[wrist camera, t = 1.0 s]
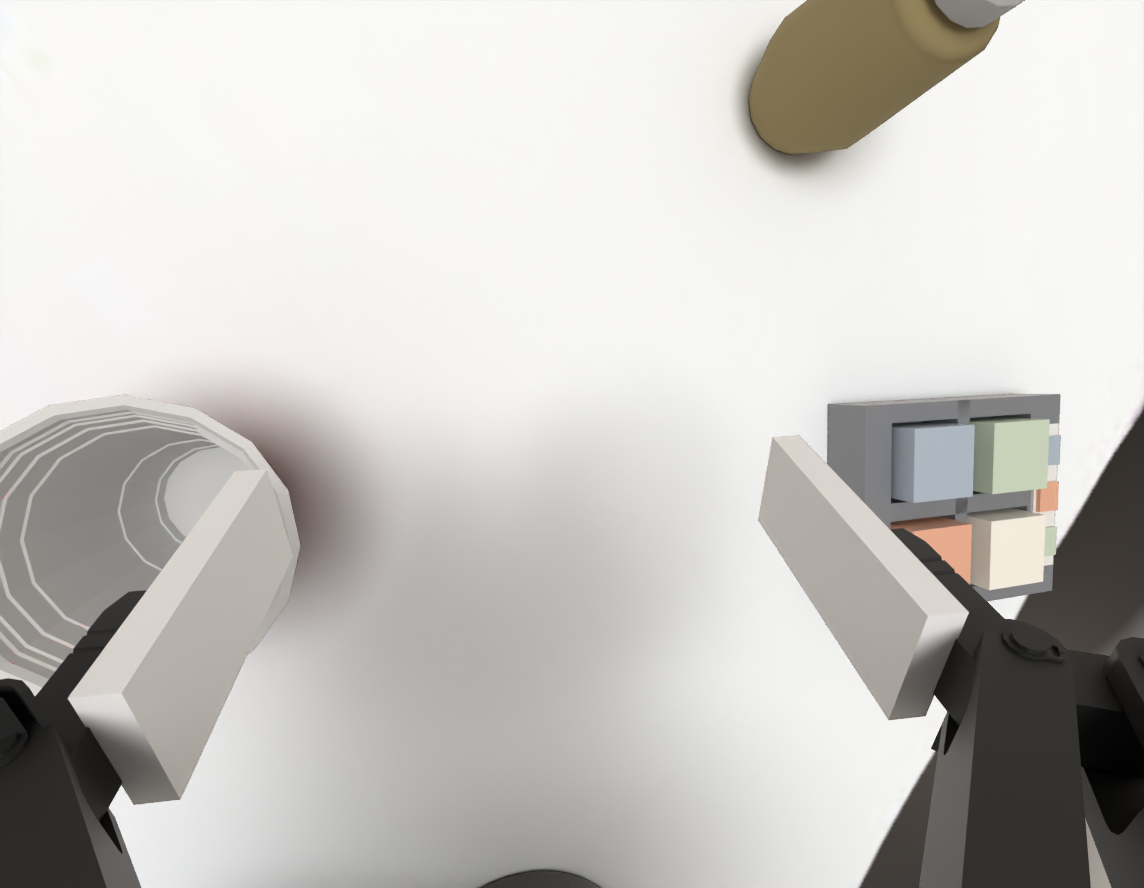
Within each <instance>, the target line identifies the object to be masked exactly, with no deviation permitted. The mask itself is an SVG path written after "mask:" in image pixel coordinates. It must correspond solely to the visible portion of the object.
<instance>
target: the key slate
mask: <svg viewBox="0 0 1144 888" xmlns="http://www.w3.org/2000/svg"><path fill="white" fill-rule="evenodd" d="M974 433H975V425H971V424H956V423H940V422H930V423H916V424H901V425H892V453H891V498H894V499H898V500H902V501H907V502H911V503H918V502H927V501H937V500H946V499H955V498H964V497H973V468H974Z"/></svg>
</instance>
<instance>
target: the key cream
mask: <svg viewBox="0 0 1144 888" xmlns="http://www.w3.org/2000/svg"><path fill="white" fill-rule="evenodd" d="M967 523H969V524H972V539H971V574H970V584H973V585H976V586H978V587H981V588H984V589H987V590H994V589H1001V588H1007V587H1013V586H1019V585H1025V584H1031V583H1038V582H1043V572H1044V547H1045V523H1046V515H1044V514H1039V513H1034V512H1029V511H1024V510H1019V509H1014V508H1004V509H996V510H988V511H979V512H971V513H967Z"/></svg>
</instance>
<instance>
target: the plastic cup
mask: <svg viewBox="0 0 1144 888" xmlns="http://www.w3.org/2000/svg"><path fill="white" fill-rule="evenodd" d="M263 469H267V471H268V474H269V478H270V481H271V484H272V488H273V491H274V494H275V498H276V501H277V504H278V508H279V511H280V514H281V518H282V521H283V524H284V528H285V531H286V535H287V538H288V541H289V545H290V548H291V551H292V555H293V557H292V559H291V561H290V563H289V566H288V568H287V570H286V572H285V574H284V576H283V578H282V581H281V583H280V585H279V587H278V589H277V591H276V594H275V596H274V598H273V600H272V602H271V604H270V607H269V609H268V611H267V613H266V615H265V617H264V620H263V622H262V624H261V626H260V628H259V630H258V633H257V635H256V637H255V639H254V641H253V643H252V646H251V648H250V650H249V652H248V654H250V653H251V652H252V651H254V649H255V648H256V646H257V645H258V644H259V642H260V641H261V639H262V638H263V636H264V635H265V634H266V632H267V631H268V629H269V628H270V627H271V625H272V624H273V622H274V621H275V619H276V618H277V617H278V615H279V614H280V612H281V611H282V610H283V608H284V607H285V605H286V604H287V602H288V601H289V596H290V592H291V587H292V582H293V578H294V573H295V569H296V564H297V559H298V555H299V550H300V546H301V545H300V541H299V536H298V532H297V527H296V523H295V518H294V514H293V509H292V505H291V500H290V496H289V491H288V489H287V488H286V487H285V485H284V484H283V483H282V481H281V480H280V479H279V477H278V475H277V474H276V473H275V471H274V470H273V469H272V467H271V466H270V465H269V463H268V462H267V461H266V459H265V458H264V457H263V456H262V455H261V453H260V452H259V451H258V449H257V448H256V447H255V445H254V444H253V443H252V442H251V441H249V440H248V439H246V438H244V437H243V436H241V435H239V434H238V433H236V432H234V431H233V430H231V429H229V428H228V427H226V426H224V425H223V424H221V423H219V422H218V421H216V420H214V419H213V418H211V417H209V416H207V415H206V414H204V413H202V412H201V411H199V410H197V409H196V408H191V407H186V406H181V405H176V404H171V403H165V402H160V401H155V400H150V399H145V398H140V397H134V396H129V395H118V396H111V397H104V398H97V399H90V400H83V401H75V402H68V403H61V404H54V405H48V406H47V407H45V408H43V409H41V410H39V411H37V412H35V413H33V414H31V415H30V416H28V417H26V418H24V419H22V420H20V421H18V422H16V423H14V424H12V425H11V426H9V427H7V428H5V429H3V430H1V431H0V679H6V678H10V679H17V680H22V681H23V682H24V683H25V684H26V685H27V686H28V687H29V688H30V690H31V691H32V693H33V694H34V696H36V695H37V694H38V692H39V691H40V690H41V689H42V687H43V686H44V685H45V684H46V682H47V681H48V680H49V679H50V677H51V676H52V675H53V674H54V672H55V671H56V670H57V669H58V667H59V666H60V665H61V664H62V662H63V661H64V660H65V658H66V657H67V656H68V655H69V654H70V653H73V648H74V647H75V646H76V645H77V643H78V642H79V641H80V640H81V638H82V637H83V636H86V635H87V631H88V630H89V628H90V627H91V626H92V625H93V623H94V622H95V621H96V619H97V618H98V617H99V616H100V614H101V613H102V612H103V611H104V610H105V609H106V608H108V607H109V606H110V605H112V604H113V603H114V602H116V601H117V600H118V599H120V598H121V597H122V596H124V595H125V594H126V593H128V592H130V591H143V590H148V588H149V587H150V586H151V584H152V583H153V582H154V580H155V579H156V578H157V576H158V575H159V573H160V572H161V571H162V569H163V568H164V567H165V565H166V564H167V563H168V561H169V560H170V559H171V557H172V556H173V554H174V553H175V552H176V550H177V549H178V548H179V546H180V545H181V544H182V542H183V541H184V540H185V538H186V537H187V535H188V534H189V533H190V531H191V530H192V529H193V527H194V526H195V525H196V523H197V522H198V521H199V519H200V518H201V517H202V515H203V514H204V512H205V511H206V510H207V508H208V507H209V506H210V504H211V503H212V502H213V500H214V499H215V498H216V496H217V495H218V493H219V492H220V491H221V489H222V488H223V487H224V485H225V484H226V483H227V481H228V480H229V479H230V477H231V476H232V474H233V473H234V472H235V471H247V470H263ZM248 654H247V655H248Z"/></svg>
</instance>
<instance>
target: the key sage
mask: <svg viewBox="0 0 1144 888" xmlns="http://www.w3.org/2000/svg"><path fill="white" fill-rule="evenodd" d="M970 424H971V425H975V433H974V468H973V491H977V492H982V493H988V494H1000V493H1009V492H1018V491H1027V490H1036V489H1045V488H1047V475H1048V450H1049V426H1050V419H1034V418H1013V417H1001V418H987V419H973V420H970Z"/></svg>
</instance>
